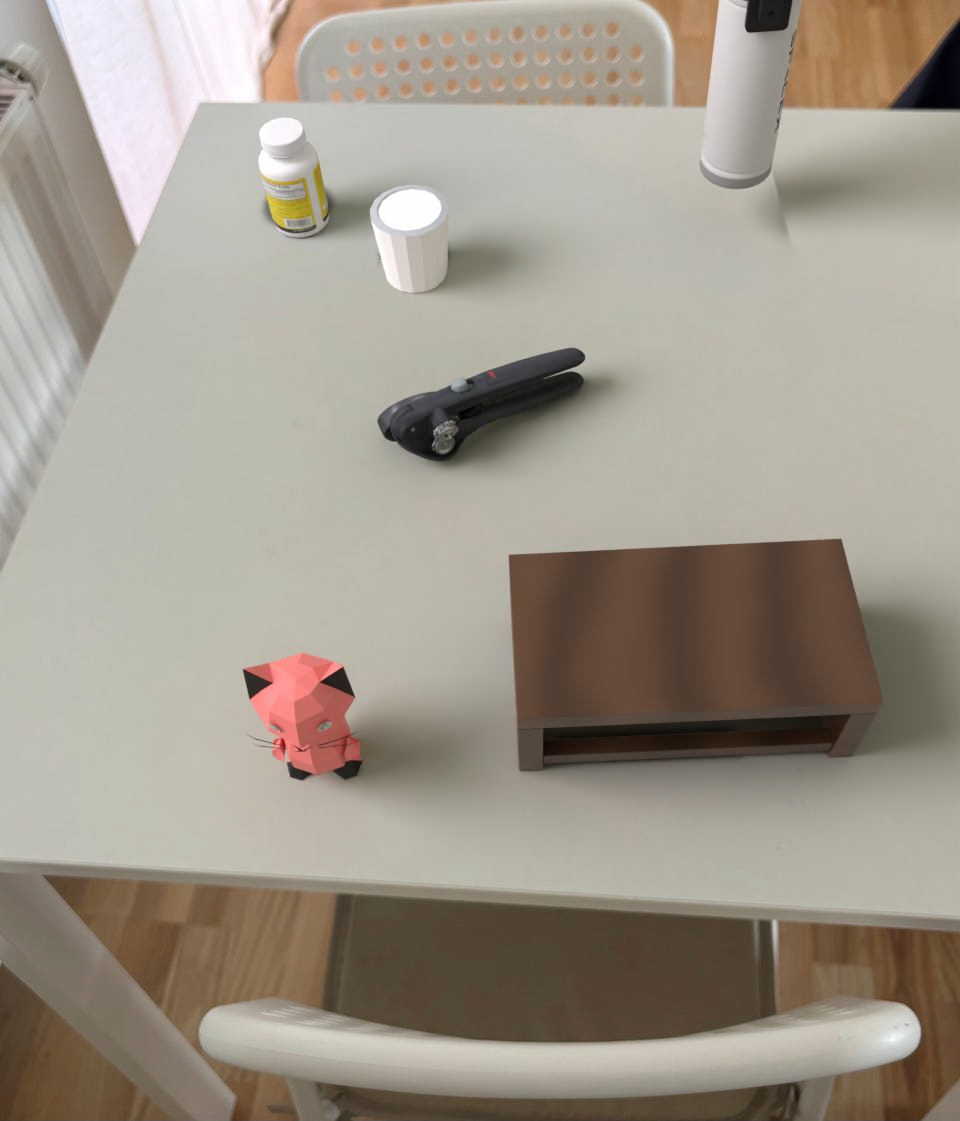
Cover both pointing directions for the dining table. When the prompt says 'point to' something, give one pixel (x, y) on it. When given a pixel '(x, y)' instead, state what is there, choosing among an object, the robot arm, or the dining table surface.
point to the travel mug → (745, 97)
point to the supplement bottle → (292, 178)
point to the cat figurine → (306, 714)
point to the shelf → (689, 649)
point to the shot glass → (412, 236)
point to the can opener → (478, 403)
